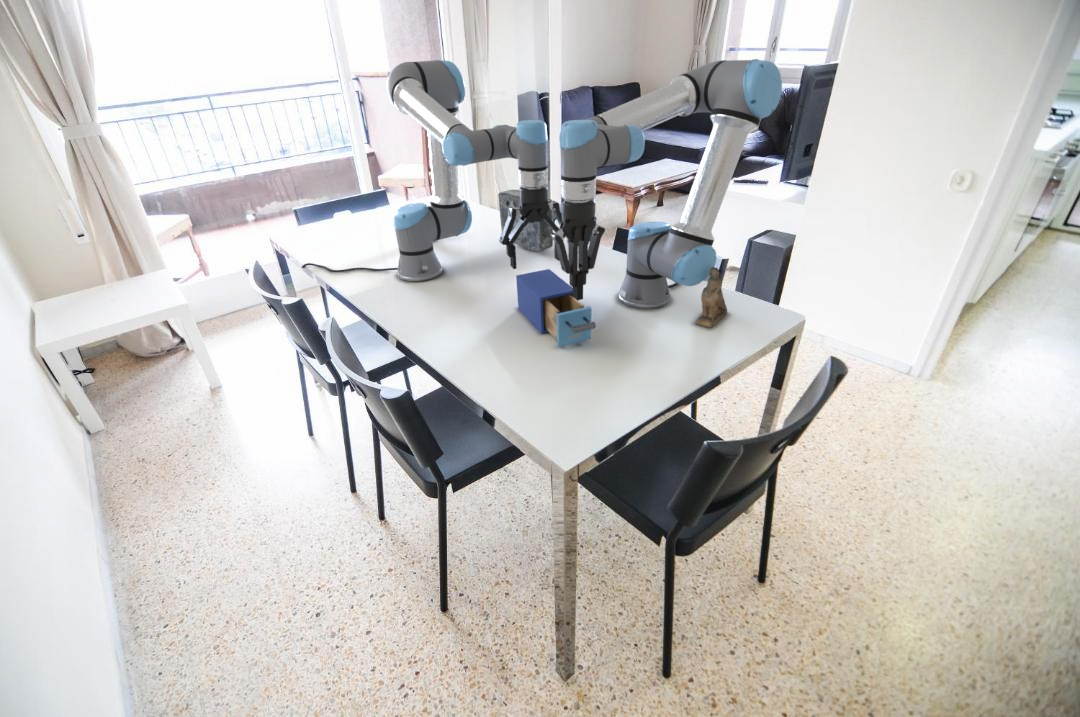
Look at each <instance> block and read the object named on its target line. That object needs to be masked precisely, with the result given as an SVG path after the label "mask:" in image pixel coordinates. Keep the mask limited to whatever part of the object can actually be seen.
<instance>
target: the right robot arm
mask: <svg viewBox="0 0 1080 717" xmlns="http://www.w3.org/2000/svg"><path fill="white" fill-rule="evenodd" d="M782 91H783V80H782V76H781V72H780V69H779V67H778V66H777V65H776V64H775V63H774V62H772V61H771V60H765V59H764V60H761V59H758V58H753V59H741V60H740V59H737V60H736V59H734V60H733V59H732V60H729V59H728V60H726V59H725V60H724V59H722V60H715V61H711V62H708V63H706V64H702V65H701V66H698V67H695V68H693V69H691V70H688V71H686V72H684V73H681V74H679V75H677V76H675V77H674V78H673V79H672V80H671V82H670V83H669V84H667V85H665V86H662V87H660V88H658V89H655V90H654V91H653V90H652V91H651V92H648V93H646V94H644V95H641V96H639V97H636V98H634V99H631V100H629V101H628V102H625V103H622V104H620V105H618V106H616V107H613V108H611V109H609V110H607V111H604V112H602V113H599V114H597V115H594V116H592V117H589V118H586V119H572V120H567V121H565V122H563V123H562V124H561V127H560V133H559V148H560V197H561V199H562V200H561V202H560V204H561V205H560V207H561V208H560V212H561V216H562V222H561V225H559V230H558V231H557V232H556V233H555V232H553V233H552V234H551V238H552V239H553V243H554V242H555V244H556V248H557V252H558V256H559V260H560V261H559V264H560V268H561V271H563V272H564V273H566V274H567V275H569V278H568V280H569V283H568V284H569V285H570V286H571V287H572V288H573V297H574V298H575V299H576V300H578V301H583V300H584V286H585V285H586V284H587V275H588V274H589V273H590V271H589V270H593V269H594V268H595V265H596V260H597V257H598V252H599V248H600V245H601V240H602V237H603V235H604V234H605V231H606V228H605V227H603V226H602V225H599V224H598V223H597V220H596V218H595V216H596V206H597V205H596V200H595V198H596V195H597V171H598V168H602V167H609V166H616V165H623V164H624V165H627V164H629V163H633V162H636V161H638V160H639V159H641V157H642V156H643V154H644V152H645V146H646V144H645V142H646V138H645V135H644V131H646V130H649V129H651V128H653V127H655V126H657V125H659V124H662V123H664V122H667V121H668V120H671V119H673V118H676V117H677V116H679V117H688V116H690V115H693V114H697V113H710V115H709V118H710V120H711V122H712V128H711V132H710V135H709V137H708V140H707V143H706V146H705V148H704V151H703V153H702V156H701V160H700V162H699V166H698V168H697V171H696V174H695V176H694V179H693V182H692V184H691V187H690V190H689V194H688V197H687V199H686V202H685V204H684V207H683V211H682V213H681V216H680V218H679V221H678V222H676V223H675V224H673V225H671V224H670V223H669V222H667V221H645V222H640V223H636V224H634V225H632V226H631V227H630V228H629V231H628V238H627V246H626V247H627V248H626V249H627V250H626V269H625V270H626V271H625V276H624V278H623V280H622V283H621V286H620V288H619V291H618V300H619V301H620V302H621V303H622V304H623V305H624V306H627V307H630V308H633V309H640V310H654V309H659V308H662V307H664V306H666V305H667V304H669V302H670V300H671V299H670V298H671V292H670V289H672V288H674V287H677V286H678V285H682V286H684V287H685V286H686V287H693V286H697V285H699V284H700V283H702V282H704V281H705V280H706V279H707V278H708V277H710V273H709V270H710V269H711V268H712V267H715V265H716V263H717V251H716V249H715V248H714V247H713V244H714V242H715V237H714V234H713V233H712V230H713V228H714V226H715V223H716V220H717V217H718V214H719V212H720V210H721V207H722V204H723V201H724V198H725V196H726V194H727V191H728V189H729V185H730V183H731V180H732V178H733V175H734V172H735V170H736V168H737V165H738V163H739V160H740V157H741V154H742V152H743V150H744V146H745V143H746V141H747V138H748V135H749V134H750V133H752V132H754V131H755V130H757V129H758V128H759V125H760V122H761V120H762V119H765V118H767V117H769V116H771V115H772V113H774V111H775V110H776V109H777V107H778V105H779V102H780V100H781V97H782ZM563 234H564V235H565V238H566V239H567V240H566V241H567V242H566V243H567V245H568V247H567V248H568V251H567V249H566V245H565V242H564V240H565V238H564V237H563ZM567 252H568V253H567ZM668 280H670V281H672V282H674V283H673V284H669V283H668Z"/></svg>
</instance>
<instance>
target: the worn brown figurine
mask: <svg viewBox="0 0 1080 717" xmlns="http://www.w3.org/2000/svg"><path fill="white" fill-rule="evenodd" d="M709 273H710V274H709V278H708V279H707V280H708V281H707V284H706V286H705V287H704V288H703V290H702V292H701V297H700V298H701V309H702V312H701V315H700V316H699V317H698V318H697V319H696V321H695V324H696V325H699V326H703V327H705V328H712V327H714V326H715V325H716V324H717V323H719V321H721V320H722V319H723V318H725V317H726V316H727V315H728V307H727V304H726V301H725V298H724V293H723V290H722V287H723V281H722V279H721V278H720V270H719V268H717V267H716V268H715V266H714V267H712V268H711V269H710V270H709Z"/></svg>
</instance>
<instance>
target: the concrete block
mask: <svg viewBox="0 0 1080 717" xmlns="http://www.w3.org/2000/svg"><path fill="white" fill-rule="evenodd" d="M497 196H498V206H499V207H498V208H499V218H500V226H501V232H502V231H503V228H504V226H505V223H506V221H507V218H508V215H509V207H513V208H519V207H520V192H519V189H507V190H504V191H501V192H498V195H497ZM552 201H553V199H551V198H549V197H548V203H552ZM547 215H548V216H549V217H550V219H551V220H552V221H553V222H554V218H553V216H554V213H553V211H552V210H551V209H550V208H549V210H548V212H547ZM520 217H521V213H520V212H519V213H518V216H516V219H515V222H514V225H513V227H512V230H513V229H514V227H515V226H516V224H517V223H518V221H519V218H520ZM512 230H511V232H512ZM511 232H510V233H511ZM552 233H554V231H553V229H552V228H551V227H550V226H549V225H548V224H547V223H546V222H545V221H544V220H542V221H541V222H534V223H530V222H529V223H528V224H527V225H526V226H525V227H524V228H523V230H522V231H521V233H520V234H519V236H518V237H517V239H516V240H515V242H514V243H513V244H514V245H517V246H518V247H521V248H523V249H524V250H527V251H531V252H543V251H545V250H548V249H550V248H552V247H554V240H553V239H552V238H551V234H552Z"/></svg>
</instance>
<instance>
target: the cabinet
mask: <svg viewBox="0 0 1080 717" xmlns="http://www.w3.org/2000/svg"><path fill="white" fill-rule="evenodd" d="M515 278H516V294H517V309H518V311H519V312H520V313H522V315H523V316H524V317H525V318H526V319H527V320H528V321H529V322H530V324H532V326H534V327H535V328H536V330H537V331H538V332H539V333H540V334H546V333H549V331H548V330H547V329H546V328H545V327H544V313H543V300H545V299H550V298H555V297H559V296H564V295H569V294H571V295H572V296H573V287H572V286H571V285H570V283H568V282H566V281H565V280H564V279H562V278H561V277H560V276H558V275H557V274H556V273H555V272H554V271H552V270H551V269H549V268H548V269H542V270H537V271H532V272H526V273H520V274H516V277H515Z"/></svg>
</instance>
